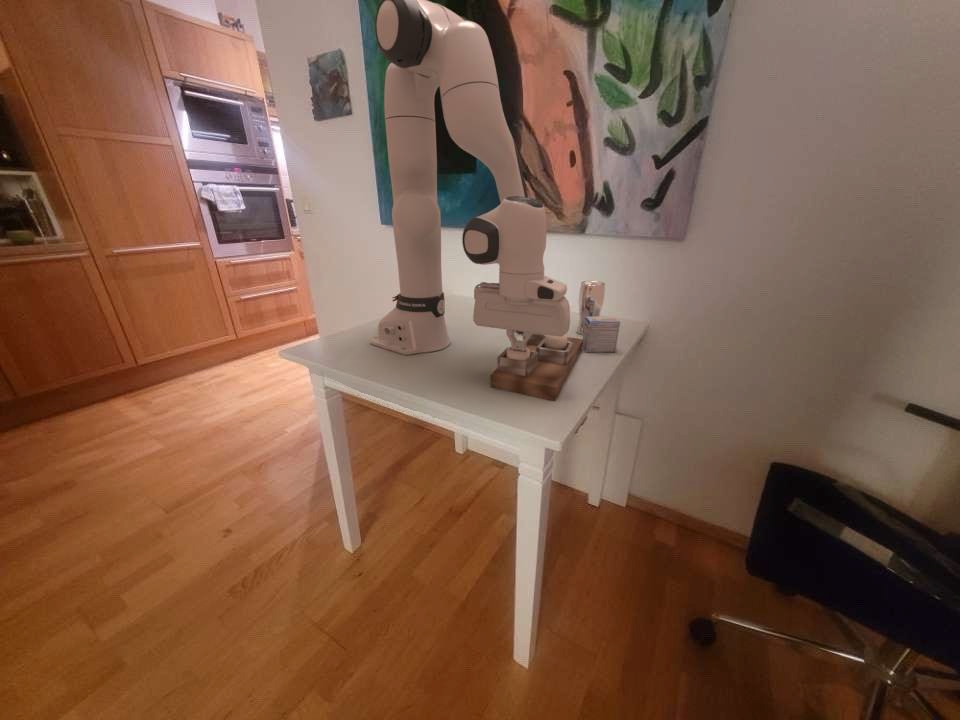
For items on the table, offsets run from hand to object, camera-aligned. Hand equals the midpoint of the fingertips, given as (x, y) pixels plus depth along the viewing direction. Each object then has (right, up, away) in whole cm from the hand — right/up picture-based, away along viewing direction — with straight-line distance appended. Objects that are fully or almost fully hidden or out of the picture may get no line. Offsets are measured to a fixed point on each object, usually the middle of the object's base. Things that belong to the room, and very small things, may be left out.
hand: (518, 349), depth 78 cm
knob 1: (0, -4, +2) cm, 4 cm away
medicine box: (+23, 0, +20) cm, 31 cm away
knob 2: (+9, +1, +6) cm, 11 cm away
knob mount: (+6, -4, +9) cm, 12 cm away
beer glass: (+24, +6, +32) cm, 41 cm away
